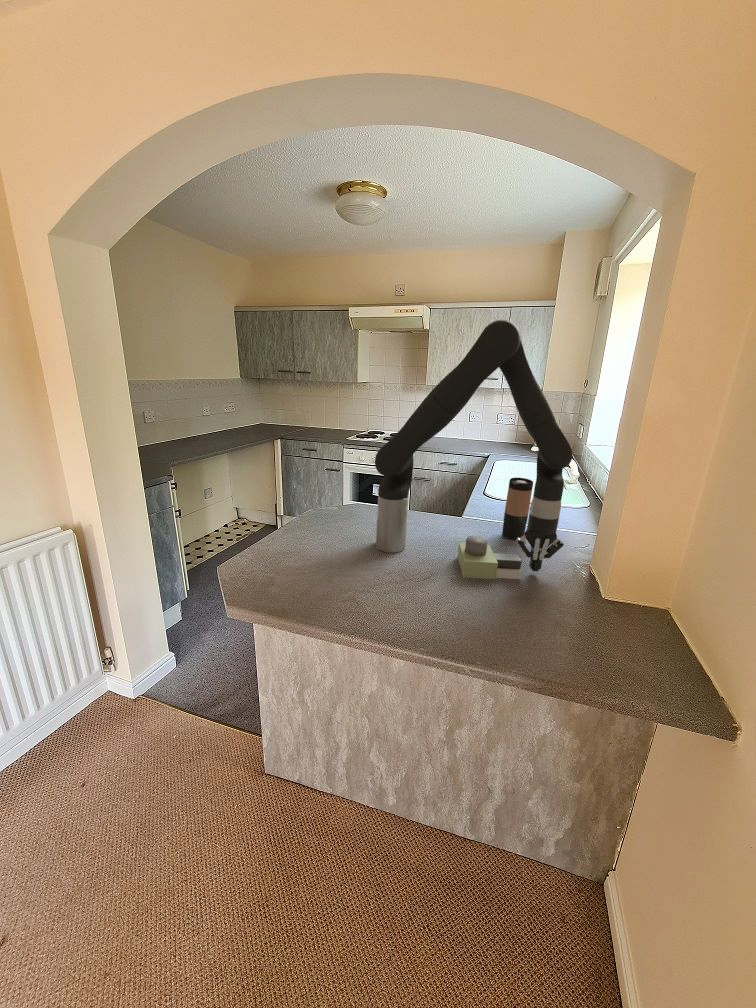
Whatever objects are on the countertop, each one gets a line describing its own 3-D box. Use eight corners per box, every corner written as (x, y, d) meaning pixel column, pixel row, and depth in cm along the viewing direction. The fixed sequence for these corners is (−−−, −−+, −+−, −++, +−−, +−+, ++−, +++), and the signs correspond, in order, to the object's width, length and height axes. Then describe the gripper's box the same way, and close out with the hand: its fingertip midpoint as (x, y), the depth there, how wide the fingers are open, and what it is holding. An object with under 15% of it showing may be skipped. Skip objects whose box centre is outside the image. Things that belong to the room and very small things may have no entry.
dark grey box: (493, 575, 115) (496, 559, 113) (490, 568, 119) (493, 553, 117) (518, 576, 115) (521, 560, 113) (515, 569, 118) (517, 554, 117)
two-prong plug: (462, 577, 113) (466, 549, 110) (457, 557, 124) (460, 531, 121) (521, 580, 112) (526, 552, 110) (510, 560, 124) (514, 534, 121)
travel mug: (521, 532, 145) (530, 478, 138) (526, 541, 137) (536, 484, 131) (499, 530, 145) (507, 476, 138) (503, 539, 138) (512, 483, 131)
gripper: (523, 517, 107) (514, 575, 113) (574, 519, 106) (563, 577, 112) (516, 507, 114) (507, 562, 120) (564, 509, 113) (553, 565, 119)
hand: (534, 570), depth 116 cm, fingers closed
